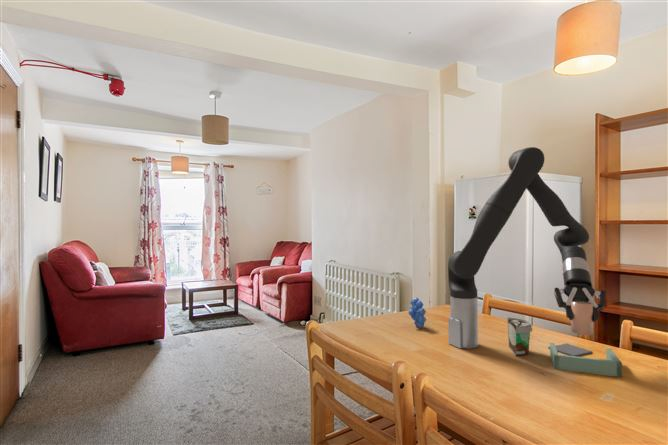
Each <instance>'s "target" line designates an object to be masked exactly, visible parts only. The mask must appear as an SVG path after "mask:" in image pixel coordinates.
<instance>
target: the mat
mask: <svg viewBox="0 0 668 445" xmlns="http://www.w3.org/2000/svg"><path fill="white" fill-rule="evenodd" d="M555 346H556V349H557V352H558V353H560V354H562V355H568V356H577V357H582V356H585V355H590V354H593V350H590V349H587V348H584V347H579V346H577V345H573V344H570V343H567V342H566V343H561V344H555ZM547 348H548V350H550V346H548V347H547Z"/></svg>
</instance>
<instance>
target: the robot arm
mask: <svg viewBox="0 0 668 445" xmlns="http://www.w3.org/2000/svg"><path fill="white" fill-rule="evenodd" d="M544 164H545V154H544V152H543V150H541V149H540V148H538V147H534V146H533V147H531V146H530V147H526V148H522V149H519V150H516V151H514V152H513V153H512V154H511V155H510V156H509V158H508V162H507V165H508V167H509V169H510V171H511V172H510V173H509V176H508V177H507V178H506V180H505V181H504V182H503V183H502V184H501V185H500V186H499V187H498V188H497V189H496V190H495V191H494V192H493V193H492V194H491V195H490V197H489V198H488V199H487V200H486V202H485V204H484V205H483V207H482V208H481V210H480V211H479V213H478V215H477V217H476V221H475V224H474V226H473V230H472V233H471V236H470V238H469V240H468V241H467V243H466V244H465V245H464V247H463V248H462V249H461V250H457V251H455V252H453V253H452V254H451V255H450V257H449V258H448V262H447V276H448V287H449V288H448V289H449V298H450V300H449V301H450V302H449V303H450V307H449V310H450V316H448V318H447V319H448V320H447V321H448V322H447V323H448V325H447V326H448V329H447V330H448V344H449V345H451V346H454V347H455V348H458V349H475V348H478V347H479V316H478V314H479V313H478V312H479V311H478V309H479V308H478V304H479V303H478V302H479V301H478V289H477V286H476V282H475V281H476V280H475V276H476V275H477V274H478V272H479V270H480V268H481V267H482V264H483V262H484V261H485V259H486V255H487V253H488V251H489V250H490V248H491V246H492V245H493V244H494V241H496V239H497V238H498V235H499V234H500V233H501V231H502V229H503V228H504V227H505V225H506V223H507V222H508V221H509V218H510V217H511V215H512V214H513V212H514V211H515V208H516V206H517V205H518V203H519V202H520V200H521V198H522V197H523V196H524V193H525V191H528V193H529V194H530V195H531V196H532V198H533V200H534V201H535V202H536V203H537V205H538V207H539V208H540V211H541V212H542V213H543V215H544V217H545V218H546V220H547V221H548V223H549V225H550V226H552V227H561V226H562V227H563V226H564V227H566V228H563V229H560V230H557V231H556V232H555V234H554V235H553V242H554V243H555V245H556V247H557V248H558V250H559V252H560V255H561V261H562V266H561V267H562V276H563V278H562V279H563V285H564V287H563V288H560V287H554V291H553V294H554V297H555V300H556V303H557V306H558V308H560V309H561V308H563V309H565V316H566V318H567V319H568V320H569V321H571V320H572V309H571V301H587V302H591V303H593V323H597V321H599V318H600V313H599V311H601V312H602V311H604V308H605V305H606V294H607V293H606V290H600V291H599V290H595V288H593V283H592V278H591V277H592V276H591V273H590V272H591V271H590V267H589V264H588V261H587V254H586V251H585V248H583V247H581V245H585V244H587V243H588V242H589V240H590V234H589V232H588V229H586V227H584V226H583V225H582V224H581V223H580V222H579V221H578V220H576V219H575V218H574V217H573V216H572V215H571V213H570V212H569V210H568V209H567V207H566V204H564V202H563V201H562V199H561V198H560V197H559V195H558V194H557V193H556V192H555V191H554V190H553V189H552V188H550V187H549V186H548V185H547V184H546V183H545V181H543V179H542V178H541V176H540V174H539V173H540V171H541V170H542V168H543V167H544ZM563 294H564V295H565V296H566V297H567V300H566V301H564V299H563ZM594 295H595V296H596V298H597V299H599V300H598V304H597V303H596V301H595V299H594V298H593V297H594Z"/></svg>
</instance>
